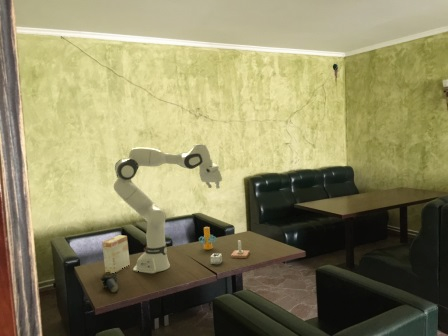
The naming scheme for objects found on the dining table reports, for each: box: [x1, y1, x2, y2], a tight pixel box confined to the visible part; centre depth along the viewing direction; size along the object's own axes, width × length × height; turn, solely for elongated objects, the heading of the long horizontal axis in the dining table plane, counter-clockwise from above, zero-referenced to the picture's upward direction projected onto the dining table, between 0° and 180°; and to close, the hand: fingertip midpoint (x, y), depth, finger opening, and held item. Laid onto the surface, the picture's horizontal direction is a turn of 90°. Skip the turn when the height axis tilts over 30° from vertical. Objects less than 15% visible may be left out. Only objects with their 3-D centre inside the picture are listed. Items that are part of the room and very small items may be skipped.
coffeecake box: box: [101, 234, 131, 274], centre depth 230 cm, size 15×7×20 cm, turn 152°
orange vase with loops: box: [198, 226, 217, 251], centre depth 258 cm, size 12×10×15 cm
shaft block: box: [230, 240, 250, 259], centre depth 239 cm, size 10×10×10 cm
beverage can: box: [100, 272, 119, 293], centre depth 201 cm, size 9×8×12 cm
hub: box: [210, 253, 223, 265], centre depth 229 cm, size 6×6×5 cm
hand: (214, 187), depth 236 cm, fingers open, 8 cm apart
